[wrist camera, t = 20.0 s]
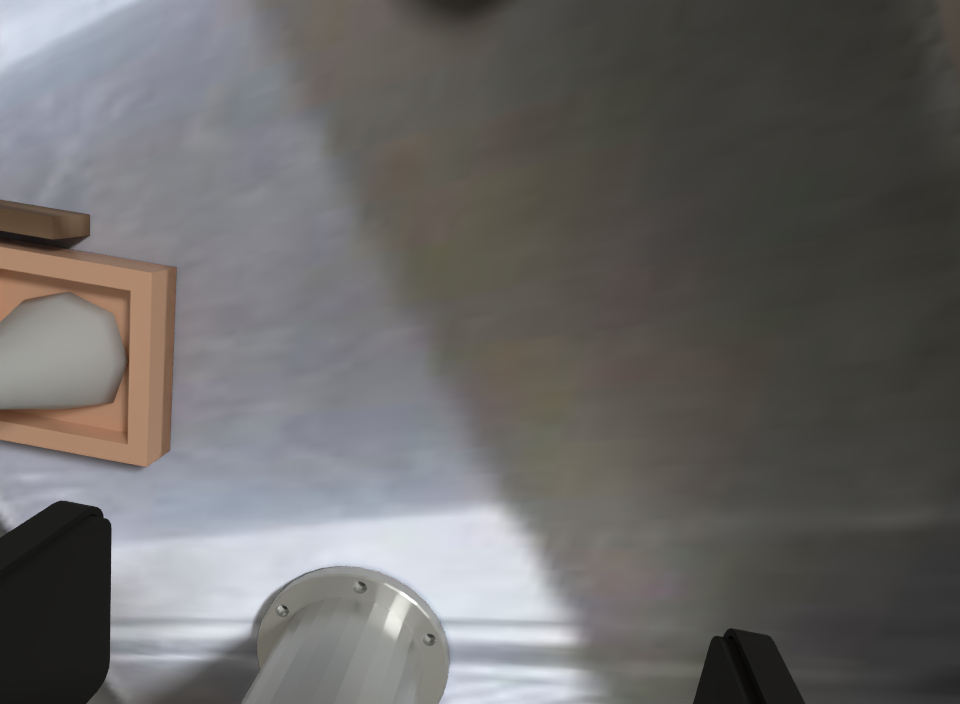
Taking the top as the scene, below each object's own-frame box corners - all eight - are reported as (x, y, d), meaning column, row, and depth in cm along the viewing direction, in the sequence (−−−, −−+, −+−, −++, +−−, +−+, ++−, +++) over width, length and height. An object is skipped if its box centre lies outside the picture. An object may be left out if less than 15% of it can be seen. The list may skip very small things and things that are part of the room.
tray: (169, 450, 42) (146, 466, 39) (-6, 418, 42) (-39, 432, 40) (176, 267, 39) (152, 272, 36) (-12, 235, 39) (-49, 238, 37)
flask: (131, 300, 38) (-8, 338, 29) (130, 417, 40) (-1, 490, 30) (12, 281, 39) (-164, 312, 29) (17, 397, 41) (-148, 464, 31)
